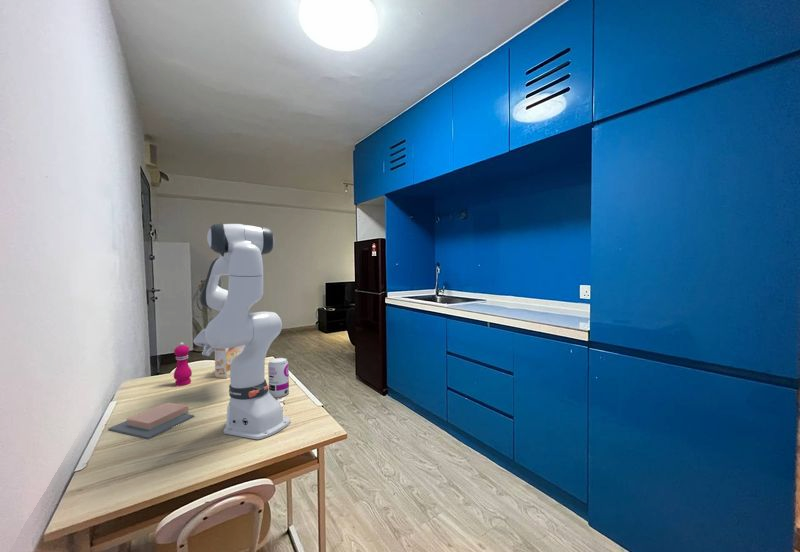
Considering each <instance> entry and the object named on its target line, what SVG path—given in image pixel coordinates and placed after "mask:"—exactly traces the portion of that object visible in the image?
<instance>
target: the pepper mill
mask: <svg viewBox="0 0 800 552" xmlns="http://www.w3.org/2000/svg"><path fill="white" fill-rule="evenodd" d="M173 353H174V355H175V360H176V366H175V370H174V371H173V379H175V382H174V385H175V386H176V387H182V386H183V387H184V386H187V385H190V384H191V382H192V379H191V377H192V375H193V371H192V369H191V367H190V365H189V362H188V359H189V353H190V348H189V346H188V345H185V344H184V342H183V341H182V342H179V345H178V346H177V347H175V348H174V351H173Z"/></svg>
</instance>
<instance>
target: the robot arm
mask: <svg viewBox="0 0 800 552" xmlns="http://www.w3.org/2000/svg"><path fill="white" fill-rule="evenodd" d="M206 235H207V236H206V239H207V243H208V246H209V248H210V250H212V251H213V252H214V253H216V254H219V257H216V258H215V259H214V260H213V261H211V264H210V266H209V268H208V271H207V274H206V278H205V282H204V284H203V288H202V290H201V293H200V294H199V297H198V299H199V302H200V304H201V306H202V307H203V308H208V309H212V310H215V311H218V312H219V313H218V314H217V315H216V316H215V317H214V318H213V319H211V320H210V321H209V322H208V323H207V325H206V327H205V328H203V329H202V330H201V331H200V332H199V333H198V334H197V335H196V336H195V337H194V339H193V344H194V345H195V346H197V347H203V350H202V352H201V355H202V356H206V357H210V356H211V354H213V352H215V350H216V349H217V348H232V347H237V346H242V345H245V347H244V349H243V351H242V352H241V353H240V354H239V355H238V356H237V357H235V358H234V359H233V361H232V362H231V365H230V377H229V378H230V379H229V381H230V384H229V387H228V392H229V394H228V395H229V397H230V399H229V403H228V405H227V408H226V422H225V423H226V424H225V427H224V428H223V434H225V435H231V436H235V437H242V438H248V439H252V440H253V439H254V440H261V439H265V438H268V437H269V436H273V435H274V434H276V433H278V432H280V431H283V430H284V429H285V428H286V427H288V426H289V425H290V423H291V418H289V416H286V415H284V411H283V407H282V404H281V402H280V400H279V399H278V400H276V398H275V397H273V396H272V395H271V394H270V393H269V388H270V387H269V386H270V385H269V384H268V382H267V380H266V378H265V364H266V357H267V353H268V350H269V349H270V347H271V345H272V344H273V341H274V340H276V338H277V337H278V336H279V335H280V333H281V332H282V329H283V322H282V319H281V317H280V316H279V315H278V314H277V313H276V312H274V311H257V312H256V311H255V312H254V311H253V312H249V311H250V309H251V308H252V306H253V305H255V304H256V303H258V302H259V301H260V300H261V299H262V298H263V295H264V264H263V256H262V255H267V254H270V253H271V252H272V251H273V249H274V246H275V238H274V233H273V231H272V230H271V229H270V228H268V227H265V226H255V225H248V224H243V223H222V222H221V223H214V224H213V223H212V225H211V226H210V227H209V230H208V231H207V234H206ZM221 276H228V284H227V285H228V286H227V287H228V289H224V288H222V287H220V286H219V282H220V279H221Z"/></svg>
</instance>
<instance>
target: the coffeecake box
mask: <svg viewBox="0 0 800 552" xmlns="http://www.w3.org/2000/svg"><path fill="white" fill-rule="evenodd" d="M244 347H245V345H242V346H237V347H232V348H217V349H216V350H215V351H214V373H215V375H214V376H215V378H218V379H228V378H230V365H231V362H232V361H233V359H234V358H235V357H237V356H238V355H239V354H240V353H241V352H242V351H243V349H244Z"/></svg>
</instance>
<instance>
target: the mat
mask: <svg viewBox="0 0 800 552" xmlns="http://www.w3.org/2000/svg"><path fill="white" fill-rule="evenodd" d="M194 418H195V415H194V414H191V413H186V414H184V415H182V416H179V417H177V418H175V419H173V420H171V421H169V422H167V423H165V424H162V425H160V426H158V427H156V428H154V429H152V430H150V431H149V430H144V429H139V428H135V427H130V426H127V420H125V421H123V422H121V423H117V424H115V425H113V426H111V427H109V428H108V431H112V432H117V433H121V434H123V435H124V434H125V435H128V434H129V436H133V437H137V438H140V439H141V438H142V439H147V440H151V439H152V438H155V437H157V436H159V435H160V434H163V433H164V432H167V431H168V430H171V429H172V427H173V428H175V427H177V426H179V425H181V424H184V423H185V422H187V421H189V420H191V419H194ZM178 424H179V425H178ZM176 425H177V426H176ZM174 426H175V427H174Z"/></svg>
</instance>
